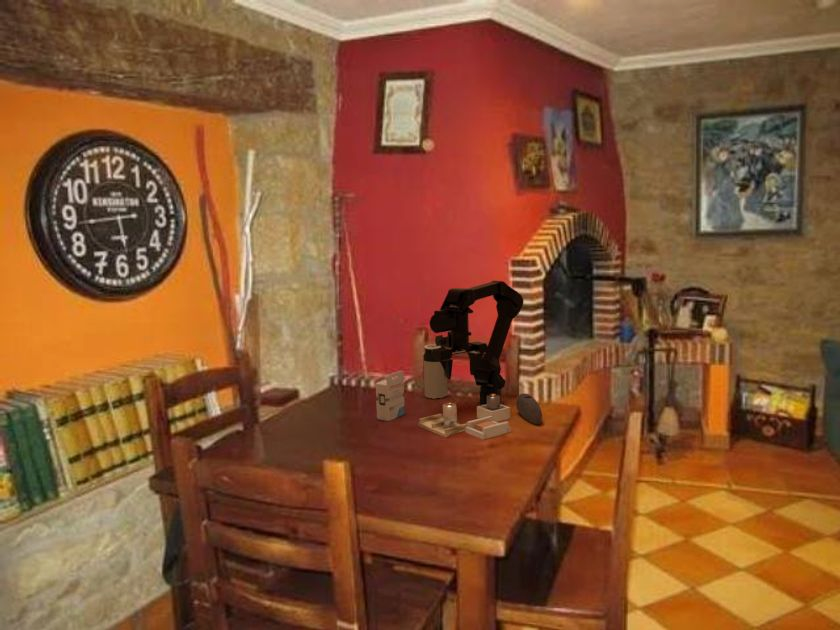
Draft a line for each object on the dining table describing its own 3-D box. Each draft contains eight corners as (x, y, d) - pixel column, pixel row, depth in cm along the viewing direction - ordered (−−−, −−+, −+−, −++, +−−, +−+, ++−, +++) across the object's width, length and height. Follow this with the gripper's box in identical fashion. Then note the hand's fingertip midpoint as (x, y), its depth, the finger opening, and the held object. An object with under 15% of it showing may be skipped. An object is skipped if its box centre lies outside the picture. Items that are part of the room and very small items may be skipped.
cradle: (491, 426, 194) (491, 415, 194) (510, 433, 188) (509, 422, 187) (465, 433, 189) (465, 422, 188) (483, 441, 182) (483, 429, 182)
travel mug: (420, 397, 228) (419, 347, 225) (431, 392, 235) (429, 343, 232) (441, 400, 224) (439, 349, 221) (451, 394, 231) (449, 344, 228)
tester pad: (488, 428, 191) (488, 421, 191) (499, 432, 187) (499, 425, 187) (476, 431, 189) (475, 424, 188) (486, 436, 185) (486, 428, 184)
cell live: (451, 424, 194) (450, 400, 193) (459, 428, 191) (459, 403, 190) (440, 427, 192) (440, 402, 191) (448, 430, 189) (448, 405, 187)
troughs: (442, 420, 202) (441, 413, 202) (469, 431, 191) (469, 423, 191) (418, 425, 197) (418, 418, 197) (445, 437, 186) (444, 430, 186)
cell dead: (494, 415, 204) (493, 391, 203) (502, 418, 200) (502, 394, 199) (484, 417, 202) (483, 393, 200) (492, 420, 198) (492, 396, 197)
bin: (494, 414, 206) (494, 402, 205) (510, 420, 200) (510, 407, 200) (477, 419, 202) (476, 406, 201) (492, 424, 196) (492, 411, 196)
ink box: (393, 412, 212) (391, 367, 210) (405, 414, 209) (403, 369, 207) (376, 419, 205) (374, 373, 203) (388, 421, 202) (386, 375, 200)
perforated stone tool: (547, 427, 192) (547, 405, 191) (530, 429, 191) (530, 406, 190) (531, 413, 207) (531, 391, 206) (515, 414, 206) (515, 393, 205)
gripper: (466, 322, 215) (467, 368, 218) (420, 329, 205) (421, 377, 207) (488, 326, 206) (489, 374, 209) (441, 333, 196) (442, 384, 198)
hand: (460, 377), depth 206 cm, fingers open, 9 cm apart
